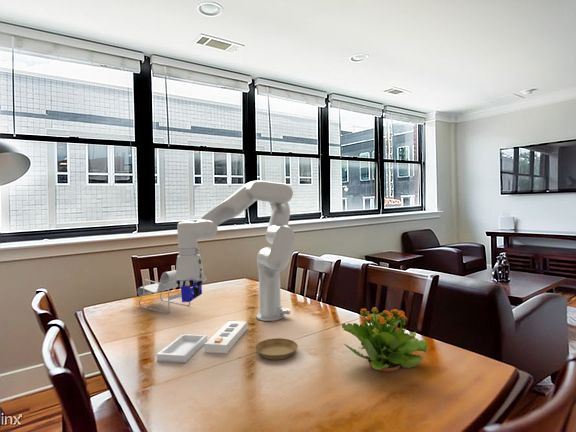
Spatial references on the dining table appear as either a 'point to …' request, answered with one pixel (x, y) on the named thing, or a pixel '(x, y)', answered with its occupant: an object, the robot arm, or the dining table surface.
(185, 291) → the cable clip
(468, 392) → the dining table surface
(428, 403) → the dining table surface
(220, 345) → the power strip
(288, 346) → the plant saucer
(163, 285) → the chair
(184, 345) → the cable tray
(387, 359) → the potted flower
